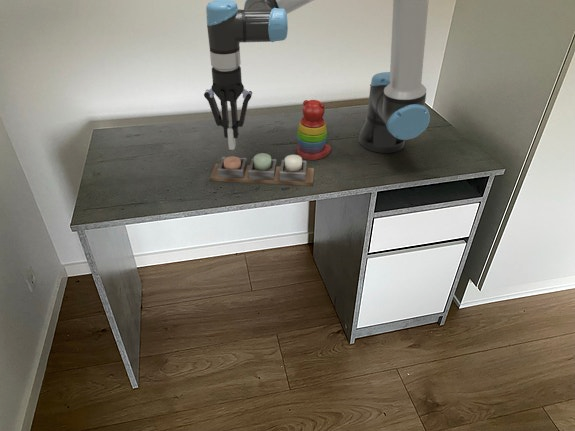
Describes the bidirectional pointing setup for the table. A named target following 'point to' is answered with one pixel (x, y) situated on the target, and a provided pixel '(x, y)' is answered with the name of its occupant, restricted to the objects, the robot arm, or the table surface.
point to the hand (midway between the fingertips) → (232, 147)
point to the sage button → (262, 162)
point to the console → (263, 174)
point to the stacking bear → (312, 132)
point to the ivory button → (293, 163)
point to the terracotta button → (232, 163)
